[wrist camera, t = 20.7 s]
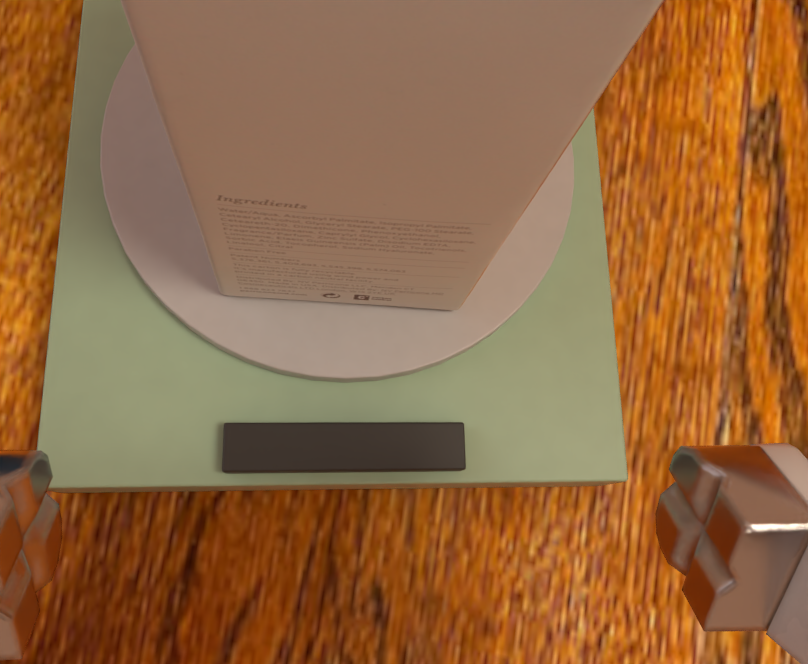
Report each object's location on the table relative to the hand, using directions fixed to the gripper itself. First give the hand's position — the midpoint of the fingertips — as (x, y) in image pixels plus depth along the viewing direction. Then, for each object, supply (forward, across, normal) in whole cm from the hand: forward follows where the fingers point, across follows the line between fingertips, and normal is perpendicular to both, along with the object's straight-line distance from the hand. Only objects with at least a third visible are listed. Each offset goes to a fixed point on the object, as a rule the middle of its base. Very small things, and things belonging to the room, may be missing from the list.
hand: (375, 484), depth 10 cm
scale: (+14, 0, +2) cm, 15 cm away
